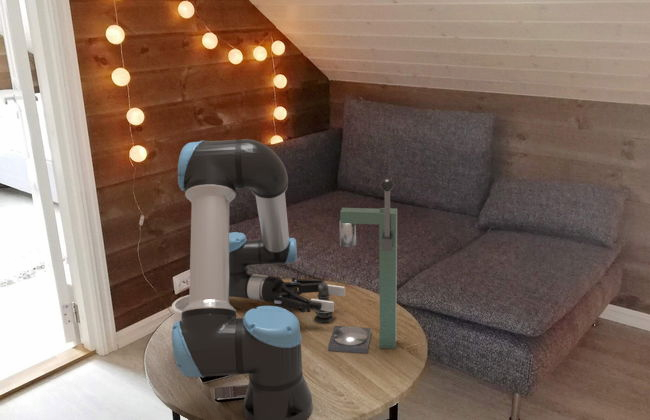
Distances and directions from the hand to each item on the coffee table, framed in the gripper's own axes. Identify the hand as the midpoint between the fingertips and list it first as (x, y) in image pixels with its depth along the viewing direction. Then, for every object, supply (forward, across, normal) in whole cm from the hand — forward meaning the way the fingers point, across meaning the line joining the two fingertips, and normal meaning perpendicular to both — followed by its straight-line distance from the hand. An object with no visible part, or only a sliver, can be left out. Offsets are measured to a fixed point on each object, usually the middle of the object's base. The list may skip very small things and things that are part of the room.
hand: (339, 299), depth 160 cm
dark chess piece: (-5, 0, -7) cm, 9 cm away
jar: (-29, +27, -7) cm, 40 cm away
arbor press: (+10, +9, -7) cm, 15 cm away
